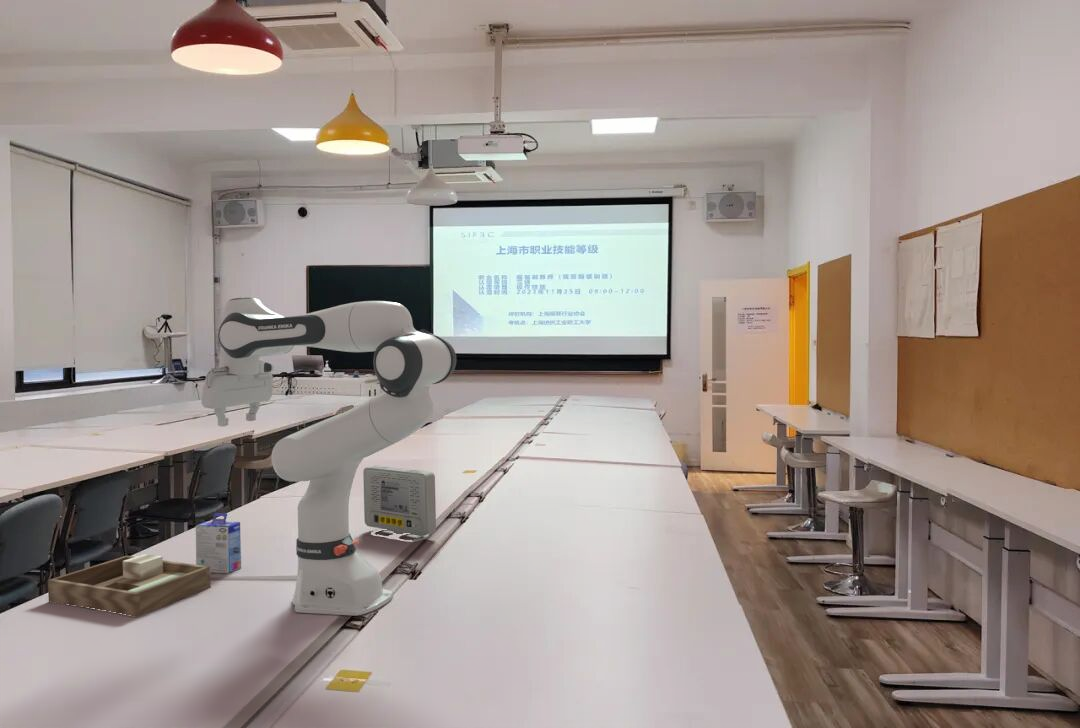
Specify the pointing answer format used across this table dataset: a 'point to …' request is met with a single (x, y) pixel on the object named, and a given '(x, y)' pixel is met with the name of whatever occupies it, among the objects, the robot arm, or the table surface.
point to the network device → (400, 500)
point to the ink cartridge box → (219, 545)
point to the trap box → (128, 587)
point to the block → (142, 567)
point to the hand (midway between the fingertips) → (237, 423)
